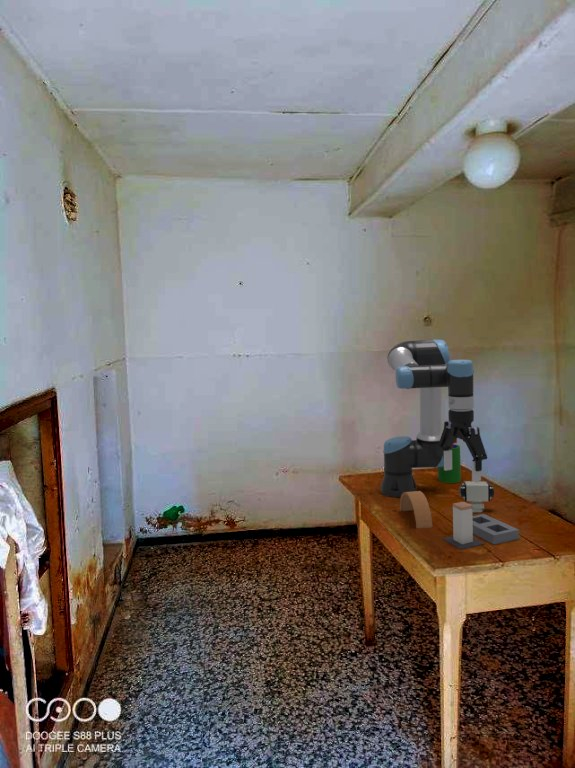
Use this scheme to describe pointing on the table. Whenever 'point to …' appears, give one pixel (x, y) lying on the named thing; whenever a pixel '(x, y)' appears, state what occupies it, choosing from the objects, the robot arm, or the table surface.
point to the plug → (462, 522)
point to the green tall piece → (455, 473)
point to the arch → (417, 508)
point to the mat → (463, 546)
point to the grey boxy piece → (493, 530)
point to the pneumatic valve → (476, 493)
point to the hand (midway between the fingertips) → (461, 475)
